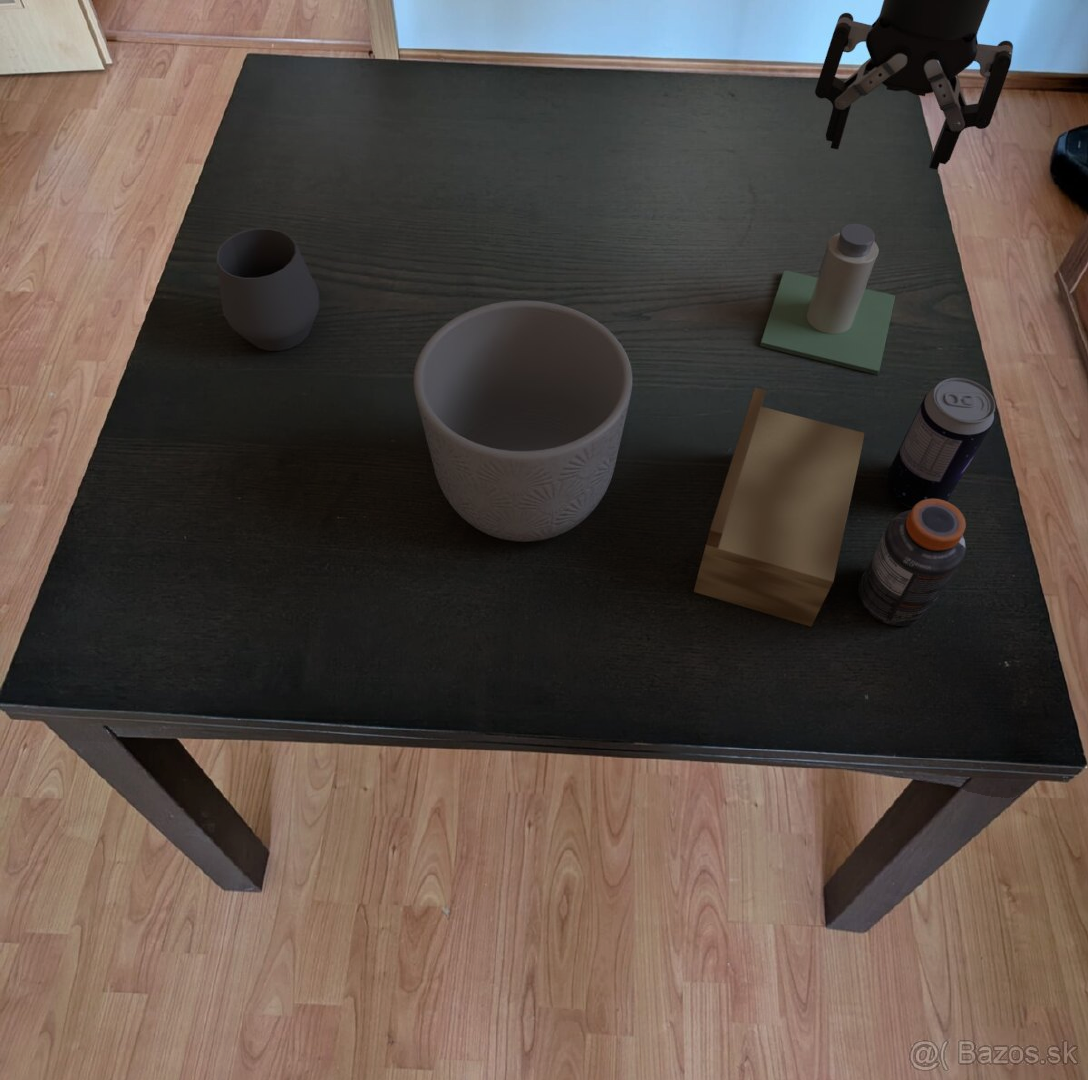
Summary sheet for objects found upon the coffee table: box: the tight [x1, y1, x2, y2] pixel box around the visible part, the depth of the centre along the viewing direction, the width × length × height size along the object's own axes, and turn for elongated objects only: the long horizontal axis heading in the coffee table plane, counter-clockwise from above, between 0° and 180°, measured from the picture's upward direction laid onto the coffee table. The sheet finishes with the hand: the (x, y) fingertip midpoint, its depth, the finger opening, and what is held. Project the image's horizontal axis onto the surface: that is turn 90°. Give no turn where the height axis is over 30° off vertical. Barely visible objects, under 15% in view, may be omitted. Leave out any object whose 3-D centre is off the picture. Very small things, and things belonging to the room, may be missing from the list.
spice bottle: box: [806, 223, 880, 334], centre depth 93 cm, size 5×5×10 cm
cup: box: [215, 227, 320, 352], centre depth 92 cm, size 10×9×10 cm
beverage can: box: [885, 377, 996, 509], centre depth 80 cm, size 6×6×12 cm
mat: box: [759, 270, 896, 376], centre depth 98 cm, size 12×12×1 cm
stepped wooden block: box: [693, 387, 866, 628], centre depth 79 cm, size 10×16×9 cm, turn 160°
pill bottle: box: [858, 499, 967, 627], centre depth 74 cm, size 6×6×11 cm
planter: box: [413, 299, 633, 542], centre depth 79 cm, size 17×17×15 cm
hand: (884, 154), depth 82 cm, fingers open, 8 cm apart
